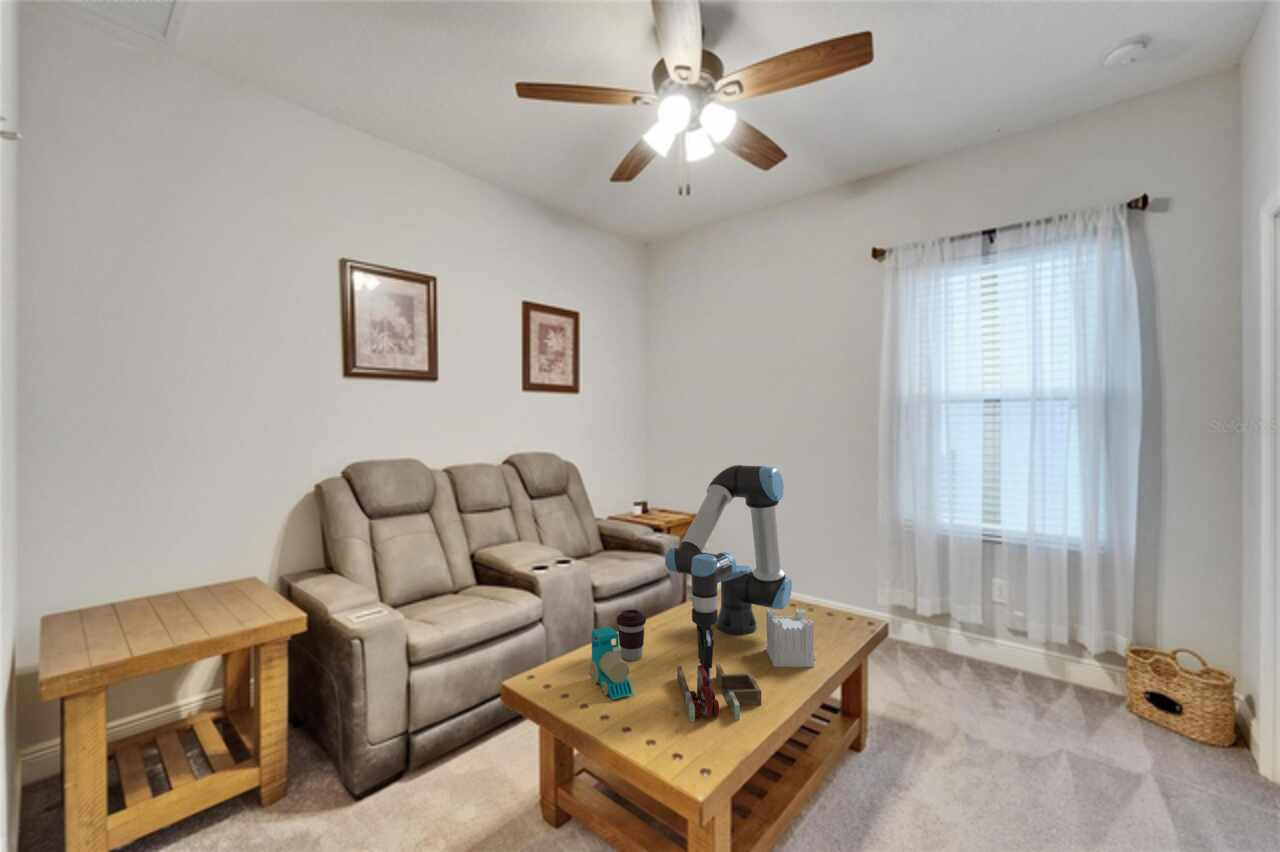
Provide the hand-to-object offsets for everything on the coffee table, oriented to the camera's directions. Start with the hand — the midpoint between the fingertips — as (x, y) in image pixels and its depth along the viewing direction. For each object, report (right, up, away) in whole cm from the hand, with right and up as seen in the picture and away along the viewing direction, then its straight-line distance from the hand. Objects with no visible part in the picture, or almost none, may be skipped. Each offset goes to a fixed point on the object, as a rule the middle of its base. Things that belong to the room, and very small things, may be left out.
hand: (705, 687), depth 160 cm
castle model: (+32, -1, +22) cm, 39 cm away
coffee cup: (-22, -1, +24) cm, 33 cm away
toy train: (-28, -2, +4) cm, 28 cm away
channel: (0, -2, -3) cm, 4 cm away
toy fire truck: (-2, -2, -10) cm, 10 cm away
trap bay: (+10, -1, -2) cm, 10 cm away
